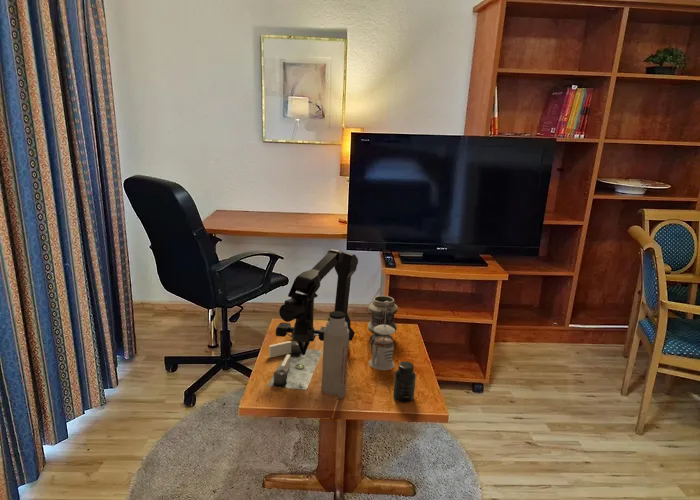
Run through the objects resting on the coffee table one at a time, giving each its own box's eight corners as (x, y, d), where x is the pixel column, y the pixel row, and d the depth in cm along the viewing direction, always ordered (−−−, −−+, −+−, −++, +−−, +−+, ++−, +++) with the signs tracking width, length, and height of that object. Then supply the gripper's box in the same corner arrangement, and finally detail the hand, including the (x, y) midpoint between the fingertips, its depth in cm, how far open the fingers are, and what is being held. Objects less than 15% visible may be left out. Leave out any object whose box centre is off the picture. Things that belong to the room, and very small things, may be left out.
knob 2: (285, 385, 158) (285, 373, 157) (272, 384, 159) (272, 372, 158) (294, 366, 171) (294, 355, 170) (282, 365, 171) (282, 353, 170)
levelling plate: (322, 354, 185) (322, 349, 184) (306, 394, 157) (306, 388, 157) (289, 350, 186) (289, 345, 186) (267, 389, 158) (267, 384, 158)
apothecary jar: (376, 330, 209) (379, 291, 205) (400, 339, 202) (404, 298, 198) (361, 339, 200) (363, 298, 195) (385, 348, 193) (389, 306, 188)
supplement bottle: (391, 391, 162) (394, 359, 159) (411, 392, 162) (414, 359, 159) (394, 403, 155) (397, 369, 152) (415, 403, 156) (419, 369, 153)
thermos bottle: (350, 391, 160) (354, 312, 153) (336, 402, 154) (341, 320, 147) (330, 383, 164) (334, 306, 157) (316, 393, 158) (319, 314, 151)
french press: (400, 364, 181) (405, 301, 174) (380, 374, 172) (385, 309, 166) (379, 355, 187) (384, 294, 181) (360, 364, 179) (364, 301, 172)
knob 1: (298, 347, 186) (299, 336, 185) (304, 351, 182) (304, 341, 181) (267, 354, 178) (267, 343, 177) (272, 359, 175) (272, 348, 174)
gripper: (271, 318, 155) (270, 362, 159) (328, 324, 153) (326, 368, 157) (280, 306, 166) (279, 347, 169) (334, 311, 164) (331, 353, 167)
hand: (303, 354), depth 166 cm, fingers closed
